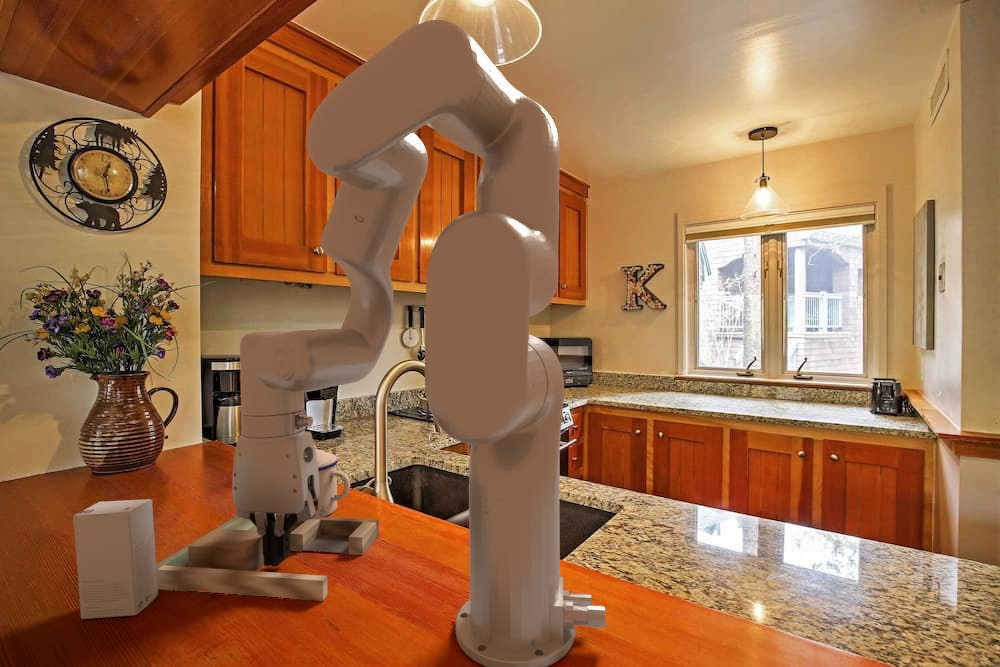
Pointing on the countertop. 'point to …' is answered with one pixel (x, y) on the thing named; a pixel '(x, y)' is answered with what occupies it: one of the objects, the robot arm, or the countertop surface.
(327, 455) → the teacup with lid
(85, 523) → the skincare box
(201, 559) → the block
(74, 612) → the countertop surface
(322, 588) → the tray
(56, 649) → the countertop surface
